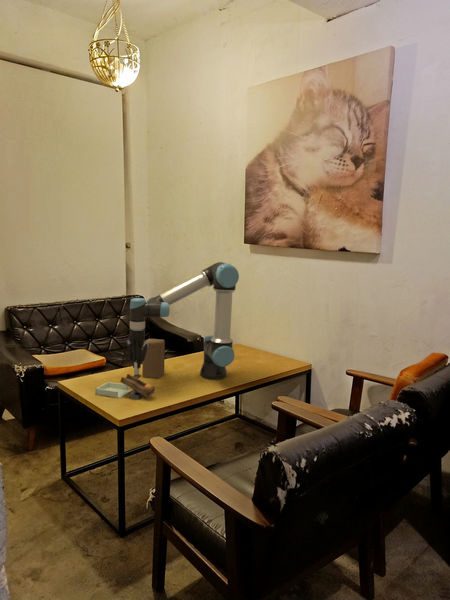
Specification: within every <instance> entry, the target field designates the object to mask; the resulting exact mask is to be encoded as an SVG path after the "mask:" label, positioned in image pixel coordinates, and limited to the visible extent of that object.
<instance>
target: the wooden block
mask: <svg viewBox="0 0 450 600" xmlns="http://www.w3.org/2000/svg"><path fill="white" fill-rule="evenodd" d="M145 342H146V343H149V346H148V348H147V352H146V356H145V360H144V361H142V362H141V366H142V367H141V368H142V374H141V377H143V378H149V379H160V378H161V377H162V376H163V375H164V374H165V359H166V358H165V357H166V356H165V354H166V353H165V349H166V347H165V345H166V342H165V339H157V338H148V339H145ZM143 348H144V344H143V345H142V349H141V352H142V351H143Z"/></svg>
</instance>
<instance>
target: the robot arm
mask: <svg viewBox="0 0 450 600" xmlns="http://www.w3.org/2000/svg"><path fill="white" fill-rule="evenodd" d="M239 276H240V274H239V272H238V269H237V268H236V267H235V266H234V265H233V264H231V263H227V262H222V261H219V262H216V263H213V264H212V265H209V266H208V267H206V268H205V269H202V270H201V271H200V273H199V274H197V275H195V276H193V277H191V278H189V279H187V280H185V281H183V282H182V283H179V284H177V285H176V286H174V287H172V288H170V289H168V290H167V291H164V292H162V293H161V294H158V295H156V296H154V297H150V298H148V299H147V300H146V299H145V298H142V297H133V298H131V299H130V301H129V303H130V304H129V338H128V340H126V341H124V344H125V346H126V351H127V355H128V359H129V361H131V362H132V368H133V376H134V375H138V374H140V369H141V368H142V367H141V366H142V361H144V360H145V356H146V352H147V348H148V346H149V343H146V342H145V341H146V339H145V336H146V330H145V329H146V318H167V317H169V316H170V306H171V305H173V304H175V303H178V302H179V301H182V299H184V298H186V297H189V296H190V295H192V294H194V293H196V292H198V291H200V290H202V289H204V288H206V287H211V286H212V287H213V290H214V291H215V307H214V326H213V327H214V330H213V335H206V336H205V337H203V339H204V340H203V363H202V365H201V368H200V372H199V373H200V374H199V376H200V377H201V378H203V379H207V380H222V379H225V378H227V377H228V376H227V375H228V373H227V371H228V370H227V368H226V367H227V366H230V365H231V364H232V363H233V362H234V359H235V350H234V349H233V344H234V340H233V339H232V338H231V323H232V307H233V305H232V304H233V293H234V292H236V287H237V286H236V285H237V283H238V282H239V279H240V277H239ZM143 344H144V348H143V351H142V346H143Z"/></svg>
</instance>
